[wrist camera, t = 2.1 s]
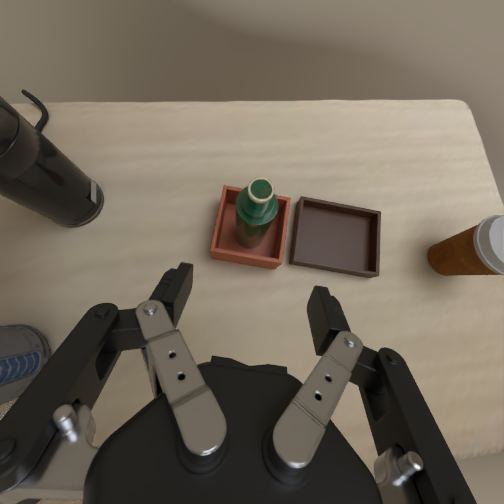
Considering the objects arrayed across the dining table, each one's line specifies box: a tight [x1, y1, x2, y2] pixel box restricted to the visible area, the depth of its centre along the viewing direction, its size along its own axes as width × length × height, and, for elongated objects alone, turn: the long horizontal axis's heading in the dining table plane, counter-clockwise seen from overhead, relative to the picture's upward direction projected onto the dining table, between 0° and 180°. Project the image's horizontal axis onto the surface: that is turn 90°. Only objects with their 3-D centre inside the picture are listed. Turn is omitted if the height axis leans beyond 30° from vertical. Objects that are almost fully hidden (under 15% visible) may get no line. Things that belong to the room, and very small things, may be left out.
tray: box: [290, 196, 381, 278], centre depth 43 cm, size 15×12×3 cm
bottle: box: [234, 177, 278, 249], centre depth 34 cm, size 6×6×16 cm
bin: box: [210, 185, 291, 269], centre depth 40 cm, size 11×11×6 cm
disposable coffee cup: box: [428, 215, 504, 275], centre depth 39 cm, size 10×10×12 cm
